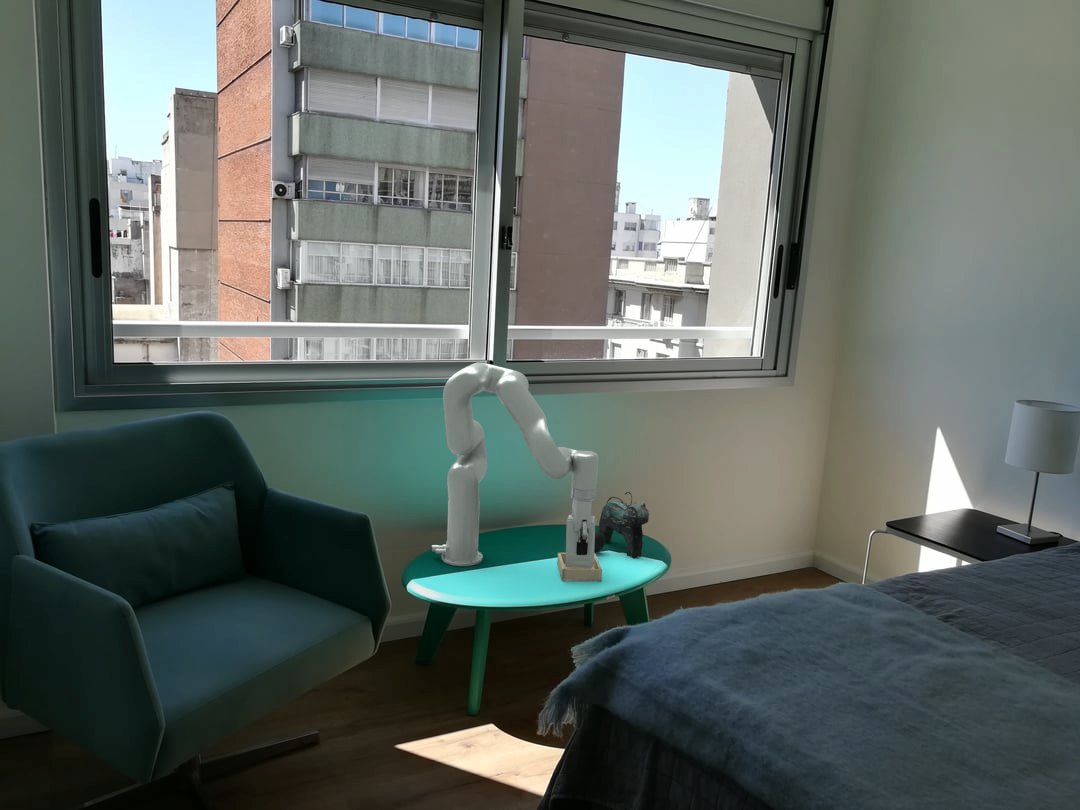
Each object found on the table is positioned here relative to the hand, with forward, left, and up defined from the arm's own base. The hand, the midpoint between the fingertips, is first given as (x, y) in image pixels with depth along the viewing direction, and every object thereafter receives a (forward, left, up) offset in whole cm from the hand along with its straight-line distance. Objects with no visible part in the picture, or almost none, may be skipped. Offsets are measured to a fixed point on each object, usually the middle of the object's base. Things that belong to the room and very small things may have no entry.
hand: (580, 549), depth 256 cm
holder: (0, 0, -7) cm, 7 cm away
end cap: (+4, +16, -8) cm, 18 cm away
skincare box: (0, 0, -5) cm, 5 cm away
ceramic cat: (+16, +20, -8) cm, 27 cm away
